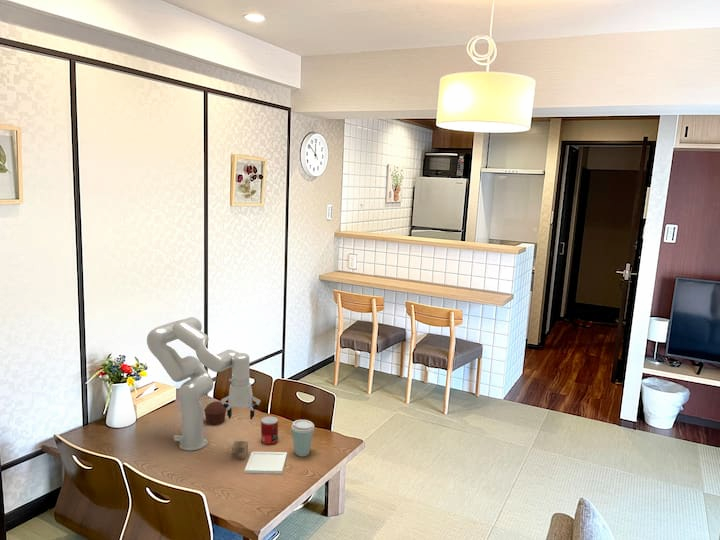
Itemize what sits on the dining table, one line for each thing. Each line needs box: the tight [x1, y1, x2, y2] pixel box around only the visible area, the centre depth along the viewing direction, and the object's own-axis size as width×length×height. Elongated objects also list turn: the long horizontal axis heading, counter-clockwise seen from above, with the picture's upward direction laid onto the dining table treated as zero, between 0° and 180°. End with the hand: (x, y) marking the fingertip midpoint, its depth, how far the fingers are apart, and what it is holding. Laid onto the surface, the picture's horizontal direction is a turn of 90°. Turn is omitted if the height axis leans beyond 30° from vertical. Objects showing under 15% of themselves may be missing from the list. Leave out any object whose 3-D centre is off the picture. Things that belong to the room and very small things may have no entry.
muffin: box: [203, 401, 227, 426], centre depth 279 cm, size 12×11×10 cm
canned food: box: [260, 415, 279, 446], centre depth 259 cm, size 8×8×11 cm
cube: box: [231, 440, 249, 461], centre depth 245 cm, size 6×6×6 cm
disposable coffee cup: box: [290, 419, 315, 457], centre depth 248 cm, size 11×11×15 cm
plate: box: [244, 451, 288, 475], centre depth 239 cm, size 16×16×1 cm
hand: (240, 417), depth 242 cm, fingers open, 9 cm apart
